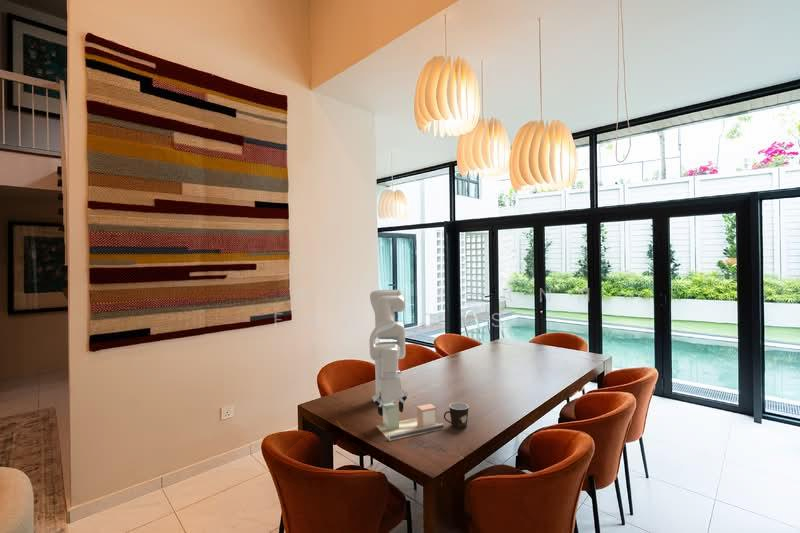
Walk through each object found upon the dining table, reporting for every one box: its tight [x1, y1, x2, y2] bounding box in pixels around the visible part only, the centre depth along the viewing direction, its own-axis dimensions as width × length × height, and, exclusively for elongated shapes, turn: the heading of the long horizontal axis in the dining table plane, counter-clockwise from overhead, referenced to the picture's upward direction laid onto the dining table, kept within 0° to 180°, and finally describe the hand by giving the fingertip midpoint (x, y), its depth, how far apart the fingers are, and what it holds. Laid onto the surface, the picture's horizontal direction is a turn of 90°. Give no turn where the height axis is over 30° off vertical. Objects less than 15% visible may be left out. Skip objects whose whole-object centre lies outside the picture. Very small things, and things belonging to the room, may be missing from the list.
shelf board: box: [376, 417, 445, 442], centre depth 168 cm, size 16×26×3 cm, turn 113°
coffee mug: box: [443, 402, 470, 430], centre depth 168 cm, size 12×9×10 cm
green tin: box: [382, 402, 400, 430], centre depth 170 cm, size 7×5×9 cm
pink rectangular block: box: [416, 403, 437, 428], centre depth 168 cm, size 7×5×9 cm
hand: (390, 413), depth 169 cm, fingers open, 9 cm apart
